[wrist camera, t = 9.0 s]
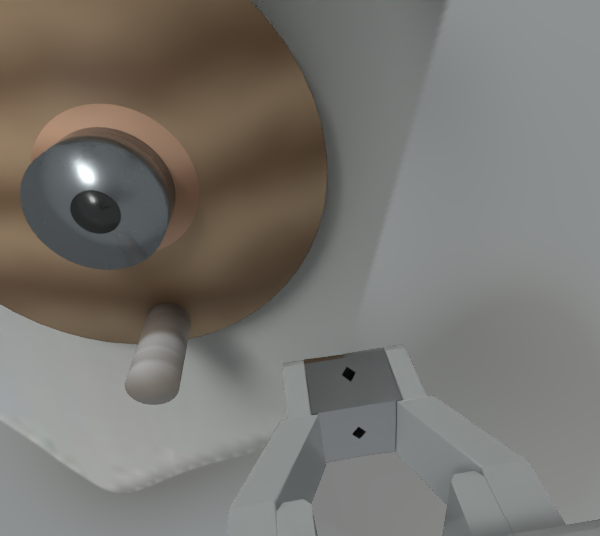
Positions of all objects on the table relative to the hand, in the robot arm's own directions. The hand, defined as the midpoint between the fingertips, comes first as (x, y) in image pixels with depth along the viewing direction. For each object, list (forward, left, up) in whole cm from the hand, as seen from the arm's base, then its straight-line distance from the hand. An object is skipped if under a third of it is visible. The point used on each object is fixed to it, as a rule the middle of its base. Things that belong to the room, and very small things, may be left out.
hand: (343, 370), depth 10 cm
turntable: (0, -10, -18) cm, 21 cm away
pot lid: (0, -10, -16) cm, 19 cm away
